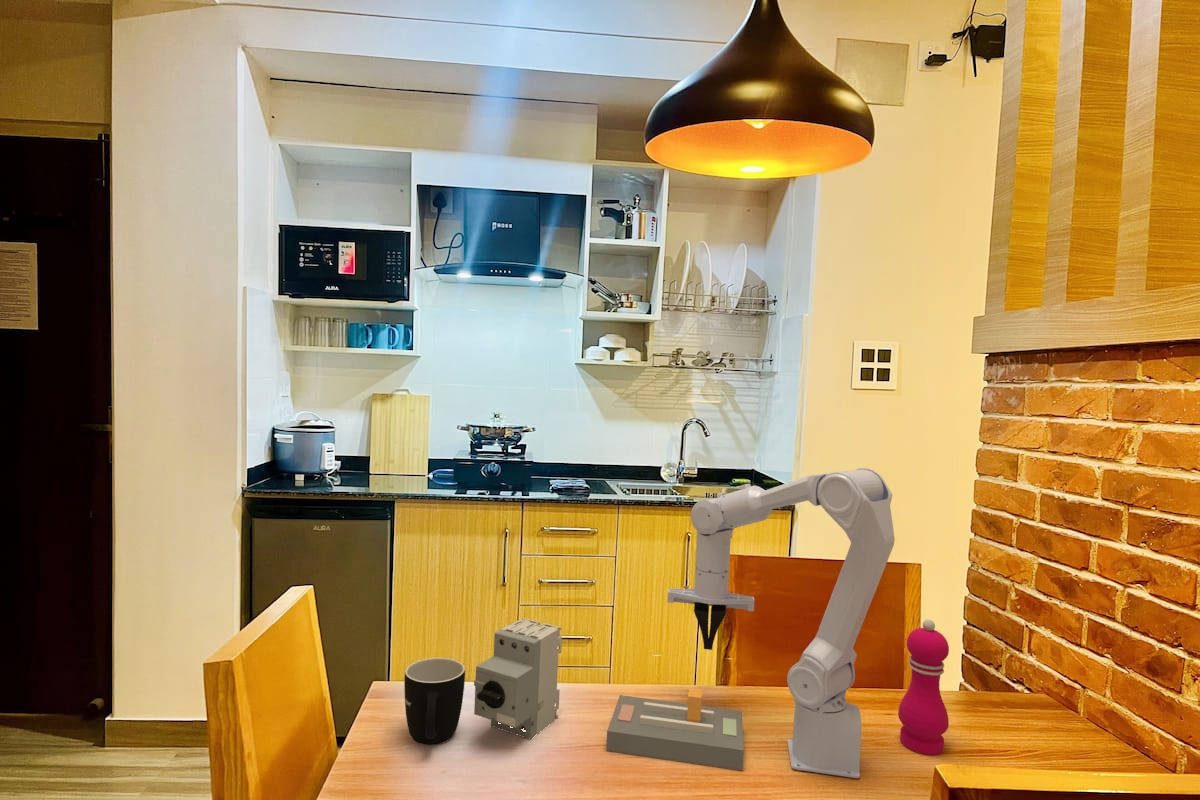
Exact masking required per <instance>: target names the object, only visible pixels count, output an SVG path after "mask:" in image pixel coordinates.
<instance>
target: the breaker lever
mask: <svg viewBox="0 0 1200 800" xmlns="http://www.w3.org/2000/svg"><path fill="white" fill-rule="evenodd" d="M702 699H703V690H702V689H697V688H688V695H687V704H688V711H687V721H688V722H696V723H700V721H701V706H702V703H703V702H702Z"/></svg>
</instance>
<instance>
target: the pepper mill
mask: <svg viewBox="0 0 1200 800" xmlns="http://www.w3.org/2000/svg"><path fill="white" fill-rule="evenodd" d="M935 629H936V625H935V622H934V621H933V620H931V619H925V620H923V622H922V627H919V628H915V629H913V630H912V631H910V633H909V634H908V636H907V638H906V649H907V651H908V652H909V654H910V655H909V658H908V659H909V663H908V666H909V668H910V669H911V679H910V684H909V686H908V688H907V691H906V692H905V694H904V695H903V697H902V699H901V701H900V703H899V705H898V711H897V714H898V719H899V721H900V723H901V724H902V726H901V728H900V731H899V733H900V734H899V740H900V742H901V745H902V746H904V747H905V748H907V749H908V750H911V751H913V752H915V753H918V754H922V755H927V756H937V755H940V754H942V753H943V752H944V748H945V747H944V746H945V739H944V736H943V735H944V734H945V733H946V732H947V731H948V729H949V725H950V724H949V716H948V710H947V708H946V705H945V703H944V699H943V697H942V696H941V690H940V681H941V680H940V679H941V675H943V674H944V672H945V671H944V670H945V669H944V668H945V663H944V662H943V661H944V660H946V659H947V657H948V656H949V652H950V648H949V647H950V646H949V643H948V641H947V639H946V637H945V636H944V634H942V633H941V632H940V631H938V630H935Z"/></svg>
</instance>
